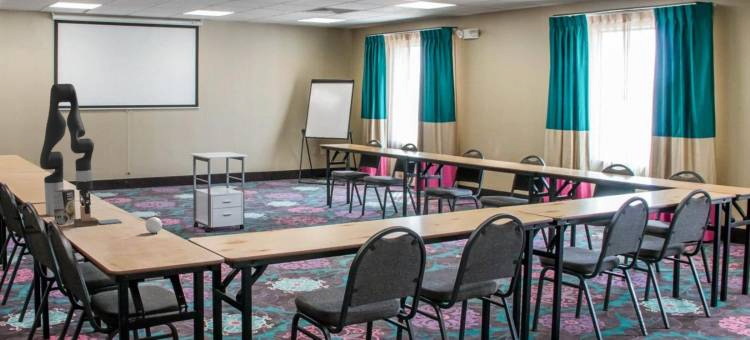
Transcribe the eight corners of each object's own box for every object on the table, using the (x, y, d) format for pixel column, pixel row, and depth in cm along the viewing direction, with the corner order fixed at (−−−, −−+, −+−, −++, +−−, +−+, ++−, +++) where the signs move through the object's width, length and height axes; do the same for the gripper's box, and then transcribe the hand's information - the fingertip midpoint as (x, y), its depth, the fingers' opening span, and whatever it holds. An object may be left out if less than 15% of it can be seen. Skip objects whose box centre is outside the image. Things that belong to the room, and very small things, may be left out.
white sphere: (165, 232, 365) (165, 217, 364) (151, 235, 359) (150, 219, 359) (153, 230, 372) (153, 214, 371) (139, 232, 366) (138, 216, 365)
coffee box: (66, 224, 390) (64, 191, 389) (54, 223, 392) (52, 191, 390) (76, 221, 399) (75, 189, 397) (64, 220, 400) (63, 188, 399)
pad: (96, 221, 396) (96, 220, 396) (117, 220, 401) (117, 218, 401) (101, 224, 387) (100, 223, 387) (122, 222, 393) (121, 221, 392)
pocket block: (73, 224, 390) (73, 219, 390) (94, 222, 395) (93, 217, 395) (77, 226, 382) (77, 221, 382) (98, 225, 387) (98, 219, 387)
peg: (80, 224, 389) (80, 206, 388) (89, 223, 391) (88, 205, 390) (82, 225, 386) (81, 207, 385) (91, 224, 388) (90, 206, 387)
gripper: (73, 179, 391) (74, 211, 392) (78, 181, 378) (80, 215, 380) (89, 178, 394) (90, 210, 396) (95, 180, 382) (96, 214, 384)
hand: (85, 212), depth 388 cm, fingers open, 8 cm apart
